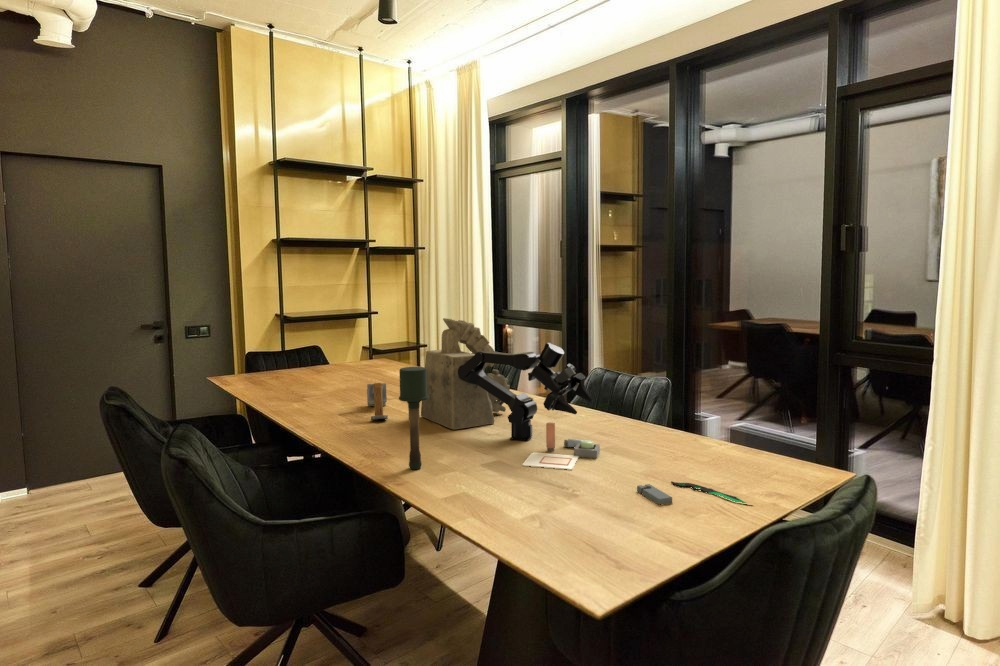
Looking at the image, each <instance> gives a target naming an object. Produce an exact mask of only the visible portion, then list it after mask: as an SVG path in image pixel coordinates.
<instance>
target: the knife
mask: <svg viewBox="0 0 1000 666" xmlns="http://www.w3.org/2000/svg"><path fill="white" fill-rule="evenodd" d="M670 483H671V484H672V486H675V485H676V486H675V487H677V486H679V488H682V487H686V488H689V487H692V488H693V489H694V490H693V489H692V488H691V489H692V490H693V491H695V490H701V491H700V492H702V491H703V492H702V493H704V492H707V493H710V494H709V495H712V494H716V495H718V496H719V495H720V496H723V497H724V498H727V499H730V500H732V501H735V502H742V503H747V502H746V501H744V500H742V499H741V498H738V496H735V495H731V494H730V495H729V494H727V493H723V492H720V491H717V490H715V489H713V488H711V487H710V488H708V487H706V486H702V485H699V484H695V483H691V482H675V481H672V480H671V481H670ZM696 488H700V489H696ZM707 493H706V494H707ZM718 496H717V497H718Z"/></svg>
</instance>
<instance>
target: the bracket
mask: <svg viewBox="0 0 1000 666" xmlns="http://www.w3.org/2000/svg"><path fill="white" fill-rule="evenodd" d="M637 491H638V492H637ZM636 492H637V493H639V494H640V493H643V494H642V496H644V497H645V496H646V498H647V499H648V498H649V499H648V500H650V499H651V500H650V501H652V502H653V501H654V503H655V502H656V503H655V504H657V505H658V504H659V505H658V506H661V505H660V504H664V505H667V504H666V503H670V504H672V503H673V497H672V496H670V495H669V494H668V493H666V492H663V491H662V490H660V489H659V488H657V487H655V486H653V485H652V484H650V483H647V484H645V485H640V484H639V485H637V486H636Z"/></svg>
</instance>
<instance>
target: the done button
mask: <svg viewBox="0 0 1000 666" xmlns="http://www.w3.org/2000/svg"><path fill="white" fill-rule="evenodd" d="M583 440H584V441H581V449H594V444H595V442H594V441H593V440H591V441H589V439H583Z"/></svg>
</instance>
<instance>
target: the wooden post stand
mask: <svg viewBox="0 0 1000 666" xmlns="http://www.w3.org/2000/svg"><path fill="white" fill-rule="evenodd" d="M366 386H367V387H366V394H367V397H366V399H367V408H370V407H371V406H373V407H374V415H372V416H370V421H372V420H373V421H379V420H378V419H386V420H388V418H389V417H388V415H386V414H385V415H384V407H385V406H387V404H386V403H387V402H388V401H387V383H386V382H385V383H383V382H375V383H368V384H366Z"/></svg>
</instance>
